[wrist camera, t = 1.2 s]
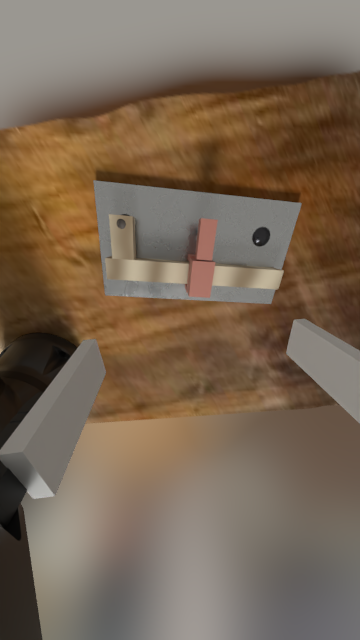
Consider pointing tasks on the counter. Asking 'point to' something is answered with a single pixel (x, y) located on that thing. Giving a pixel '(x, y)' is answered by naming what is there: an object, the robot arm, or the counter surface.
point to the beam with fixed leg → (174, 264)
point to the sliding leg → (202, 260)
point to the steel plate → (195, 235)
